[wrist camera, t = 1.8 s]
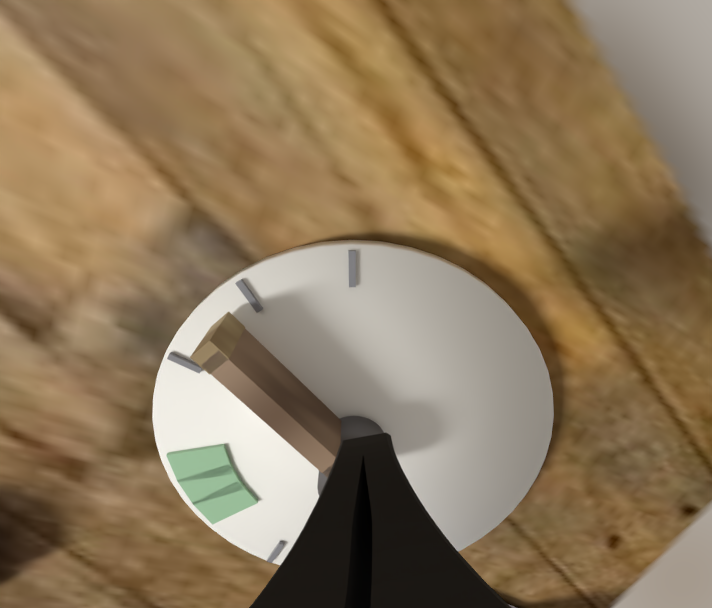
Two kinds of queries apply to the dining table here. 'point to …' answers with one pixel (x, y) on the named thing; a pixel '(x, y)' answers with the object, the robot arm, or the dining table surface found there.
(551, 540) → the dining table surface
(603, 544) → the dining table surface
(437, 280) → the gauge dial
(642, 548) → the dining table surface
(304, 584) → the robot arm
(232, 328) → the tuning pointer
